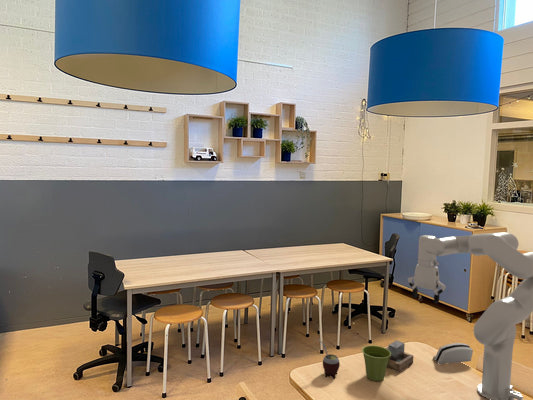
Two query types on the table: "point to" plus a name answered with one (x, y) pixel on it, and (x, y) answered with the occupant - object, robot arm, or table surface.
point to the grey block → (396, 351)
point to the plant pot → (376, 361)
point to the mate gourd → (330, 364)
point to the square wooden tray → (400, 363)
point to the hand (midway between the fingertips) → (425, 300)
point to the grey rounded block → (454, 353)
